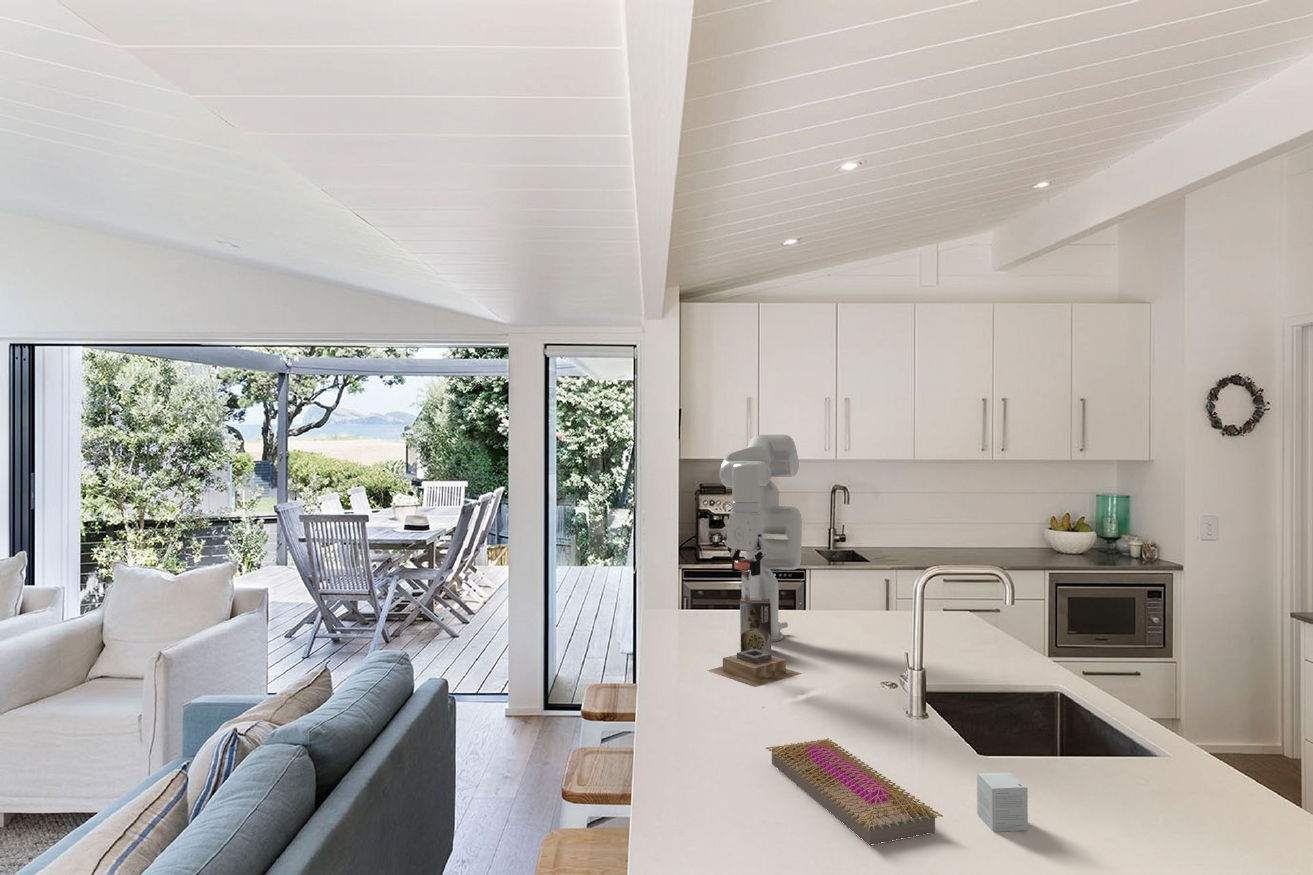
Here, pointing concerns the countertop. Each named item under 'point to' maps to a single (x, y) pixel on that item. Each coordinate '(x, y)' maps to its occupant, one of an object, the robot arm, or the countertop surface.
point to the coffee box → (755, 625)
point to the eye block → (754, 668)
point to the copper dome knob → (744, 576)
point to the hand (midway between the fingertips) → (746, 572)
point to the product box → (1002, 802)
